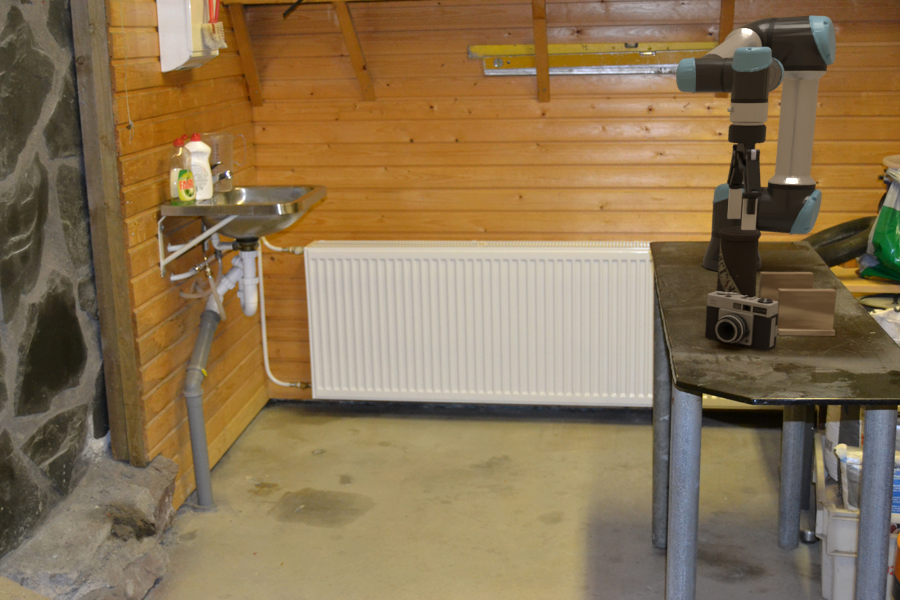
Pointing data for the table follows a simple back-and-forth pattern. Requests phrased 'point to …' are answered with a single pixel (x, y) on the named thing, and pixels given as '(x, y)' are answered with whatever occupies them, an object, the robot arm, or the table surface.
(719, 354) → the table surface
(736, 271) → the container
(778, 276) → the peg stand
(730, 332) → the camera
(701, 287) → the table surface
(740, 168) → the robot arm
